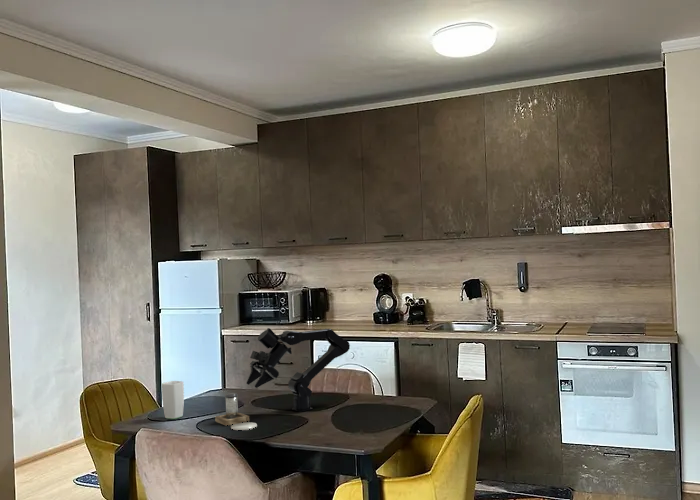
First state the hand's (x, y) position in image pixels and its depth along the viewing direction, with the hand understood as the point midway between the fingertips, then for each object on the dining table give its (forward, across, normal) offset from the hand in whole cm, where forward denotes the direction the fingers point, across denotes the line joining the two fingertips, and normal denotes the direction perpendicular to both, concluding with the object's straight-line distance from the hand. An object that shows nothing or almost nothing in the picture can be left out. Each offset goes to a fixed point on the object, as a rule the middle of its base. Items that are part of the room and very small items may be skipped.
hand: (251, 385), depth 265 cm
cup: (+28, -22, -9) cm, 37 cm away
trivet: (+15, +12, +4) cm, 20 cm away
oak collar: (+16, 0, +3) cm, 16 cm away
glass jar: (+16, 0, +3) cm, 16 cm away
